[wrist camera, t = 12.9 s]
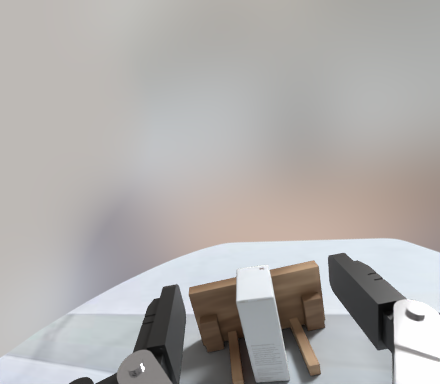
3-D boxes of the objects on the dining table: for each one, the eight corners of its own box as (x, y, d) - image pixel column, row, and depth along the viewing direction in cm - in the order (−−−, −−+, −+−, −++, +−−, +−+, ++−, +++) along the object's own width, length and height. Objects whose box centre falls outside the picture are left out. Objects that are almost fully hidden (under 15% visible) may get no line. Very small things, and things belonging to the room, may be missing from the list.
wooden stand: (353, 366, 27) (348, 303, 25) (202, 398, 28) (183, 338, 25) (320, 312, 36) (313, 260, 33) (203, 337, 36) (189, 287, 33)
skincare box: (252, 339, 34) (236, 267, 30) (282, 337, 33) (269, 263, 30) (254, 385, 28) (234, 301, 25) (291, 383, 27) (275, 296, 24)
